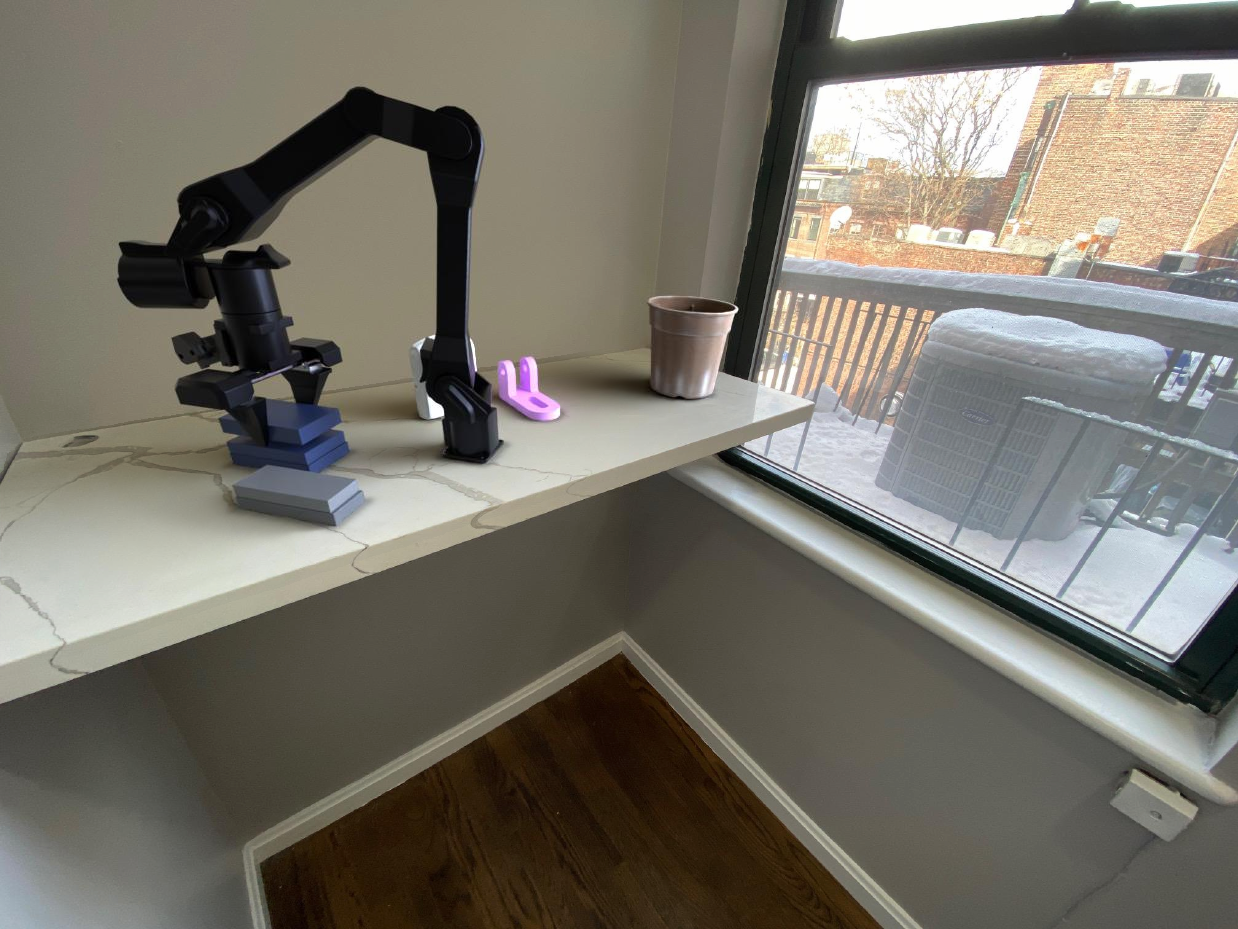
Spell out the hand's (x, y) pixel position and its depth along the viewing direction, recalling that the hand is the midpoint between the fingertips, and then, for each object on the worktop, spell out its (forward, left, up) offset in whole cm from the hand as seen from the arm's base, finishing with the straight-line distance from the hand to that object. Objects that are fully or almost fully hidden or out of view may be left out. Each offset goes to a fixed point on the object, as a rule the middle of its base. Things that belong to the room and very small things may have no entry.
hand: (286, 434), depth 65 cm
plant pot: (-47, -45, -4) cm, 65 cm away
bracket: (-23, -27, -4) cm, 36 cm away
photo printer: (-11, -21, -4) cm, 24 cm away
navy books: (0, 0, -3) cm, 3 cm away
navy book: (0, 0, +1) cm, 1 cm away
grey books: (-9, +9, -3) cm, 13 cm away
